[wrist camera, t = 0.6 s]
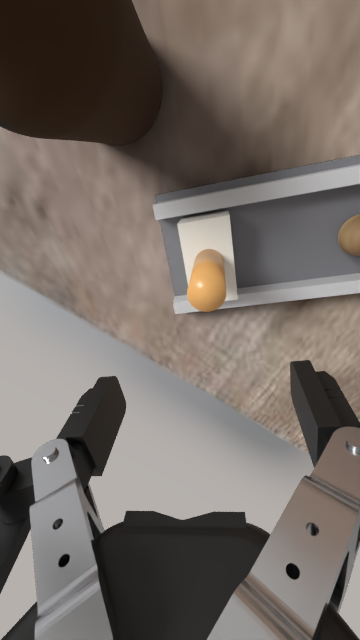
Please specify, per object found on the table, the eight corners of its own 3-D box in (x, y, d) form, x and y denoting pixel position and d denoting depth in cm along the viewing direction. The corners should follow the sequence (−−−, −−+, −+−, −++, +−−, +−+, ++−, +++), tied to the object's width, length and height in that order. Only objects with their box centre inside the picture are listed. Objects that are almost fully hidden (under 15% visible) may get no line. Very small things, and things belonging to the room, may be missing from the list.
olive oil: (180, 136, 29) (62, 28, 7) (86, 163, 31) (-231, 147, 9) (151, -7, 24) (-467, -1690, 2) (44, 37, 26) (-801, -614, 4)
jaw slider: (228, 209, 30) (234, 231, 19) (235, 286, 34) (244, 338, 23) (181, 218, 31) (163, 243, 20) (194, 291, 35) (184, 344, 24)
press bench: (421, 142, 27) (487, 133, 20) (397, 281, 33) (442, 309, 26) (157, 194, 32) (141, 200, 25) (179, 307, 38) (172, 336, 31)
